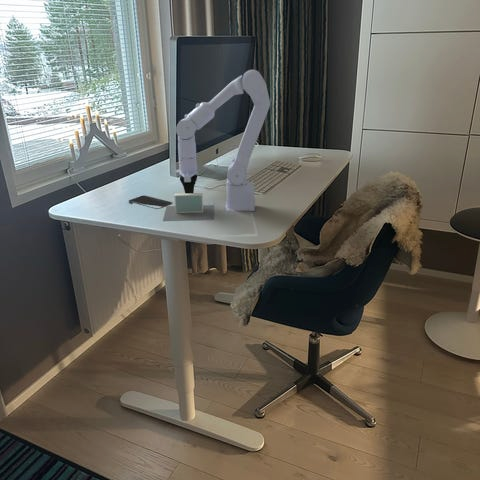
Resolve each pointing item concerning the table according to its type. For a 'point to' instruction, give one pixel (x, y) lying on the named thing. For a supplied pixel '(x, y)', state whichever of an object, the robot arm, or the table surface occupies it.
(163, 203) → the phone
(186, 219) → the desk mat
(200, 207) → the card box
